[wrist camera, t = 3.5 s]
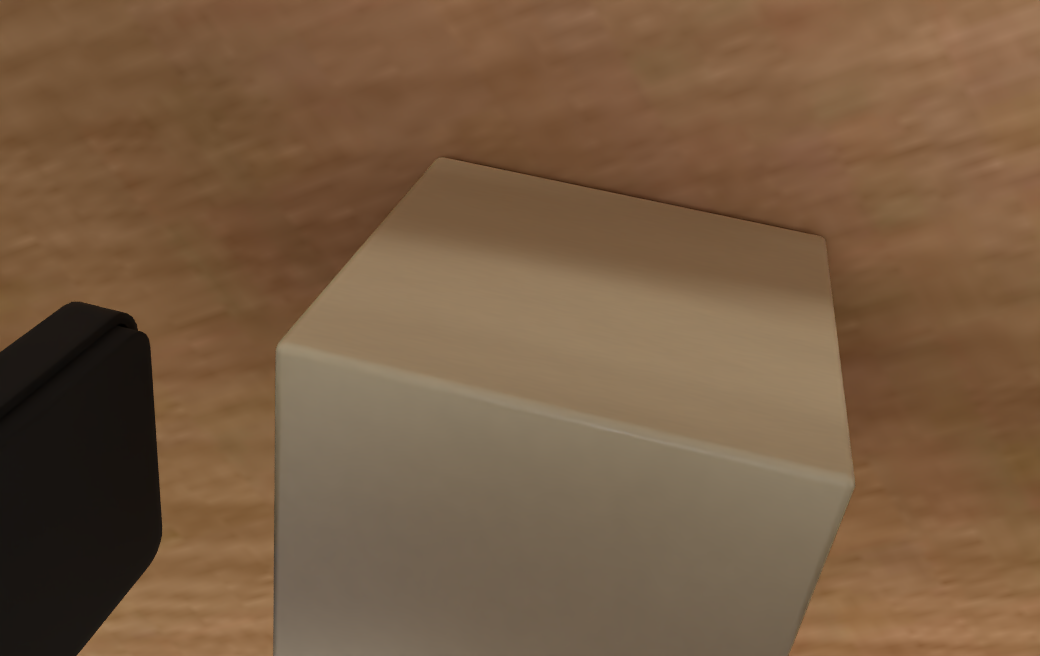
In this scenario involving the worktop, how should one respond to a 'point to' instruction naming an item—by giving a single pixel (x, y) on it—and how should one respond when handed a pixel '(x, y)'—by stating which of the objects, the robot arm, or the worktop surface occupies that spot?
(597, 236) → the block
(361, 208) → the worktop surface
